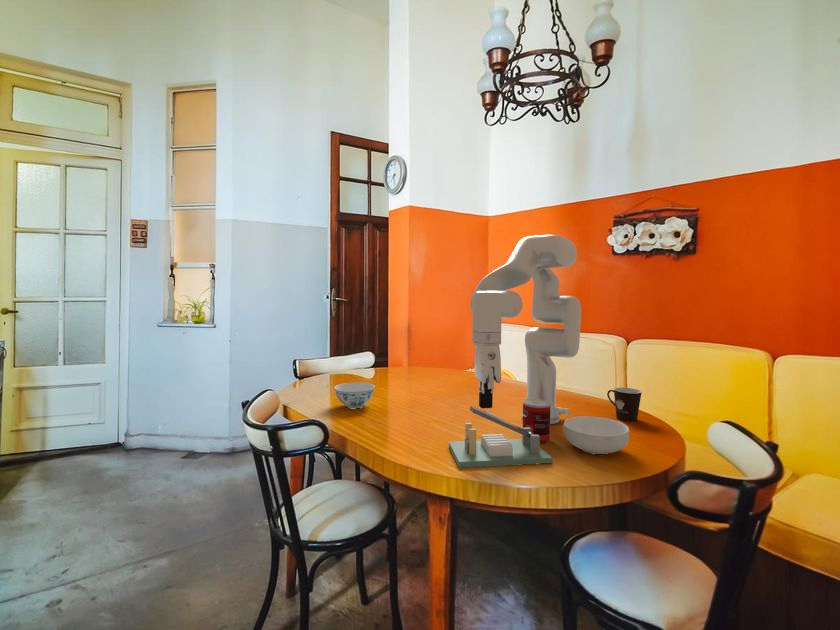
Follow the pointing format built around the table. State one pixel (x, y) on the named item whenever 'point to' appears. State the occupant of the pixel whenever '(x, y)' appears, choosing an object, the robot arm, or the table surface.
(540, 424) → the canned food
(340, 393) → the chinaware
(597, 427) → the cereal bowl
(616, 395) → the coffee mug
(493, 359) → the robot arm
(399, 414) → the table surface
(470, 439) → the clamp board
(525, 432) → the grey hinged clamp lever
